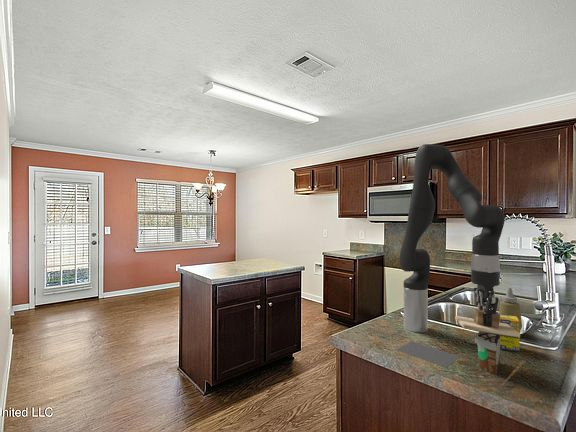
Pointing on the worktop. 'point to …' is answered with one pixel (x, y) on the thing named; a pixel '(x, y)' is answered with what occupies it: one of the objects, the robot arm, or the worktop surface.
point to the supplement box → (510, 341)
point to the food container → (488, 351)
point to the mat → (428, 354)
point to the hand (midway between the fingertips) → (485, 323)
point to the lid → (478, 325)
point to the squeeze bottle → (510, 306)
